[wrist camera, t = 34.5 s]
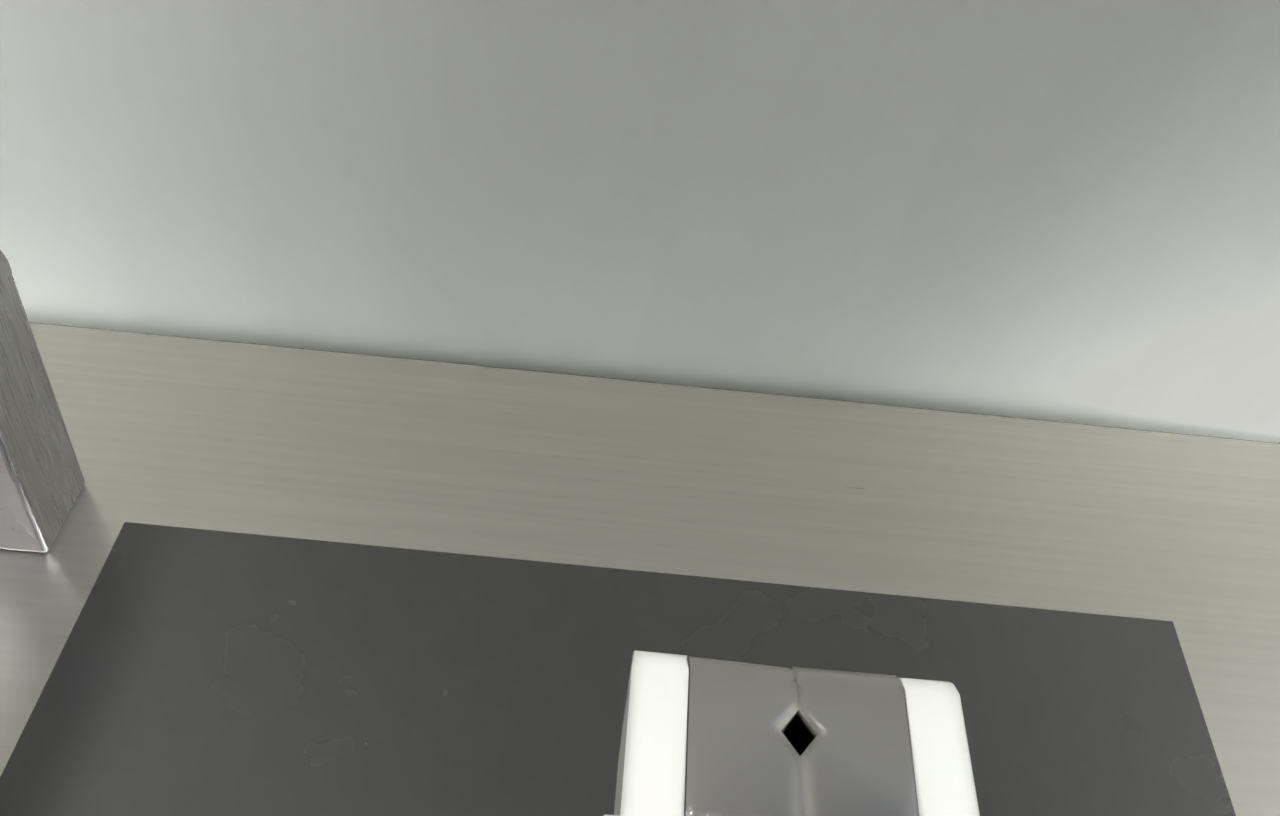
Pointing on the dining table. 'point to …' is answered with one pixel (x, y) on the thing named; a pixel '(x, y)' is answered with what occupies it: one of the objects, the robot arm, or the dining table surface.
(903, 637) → the microwave door
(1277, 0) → the dining table surface
